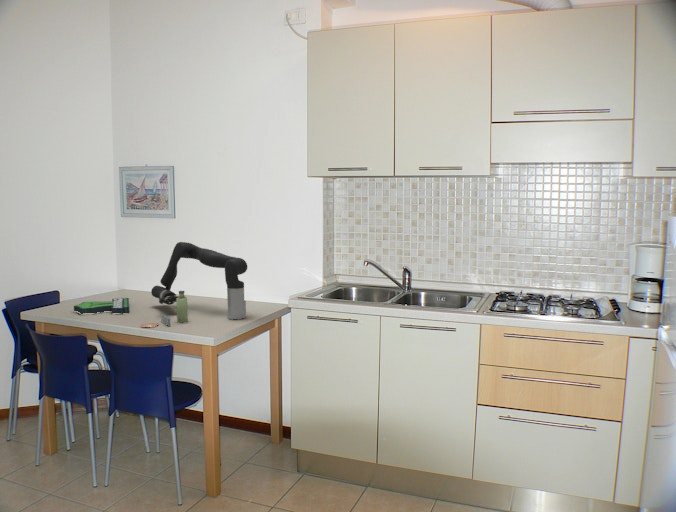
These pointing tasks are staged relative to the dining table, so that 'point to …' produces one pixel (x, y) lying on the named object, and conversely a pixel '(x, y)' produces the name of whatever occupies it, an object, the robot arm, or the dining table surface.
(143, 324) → the coaster
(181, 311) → the bottle
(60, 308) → the dining table surface
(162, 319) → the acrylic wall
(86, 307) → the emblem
